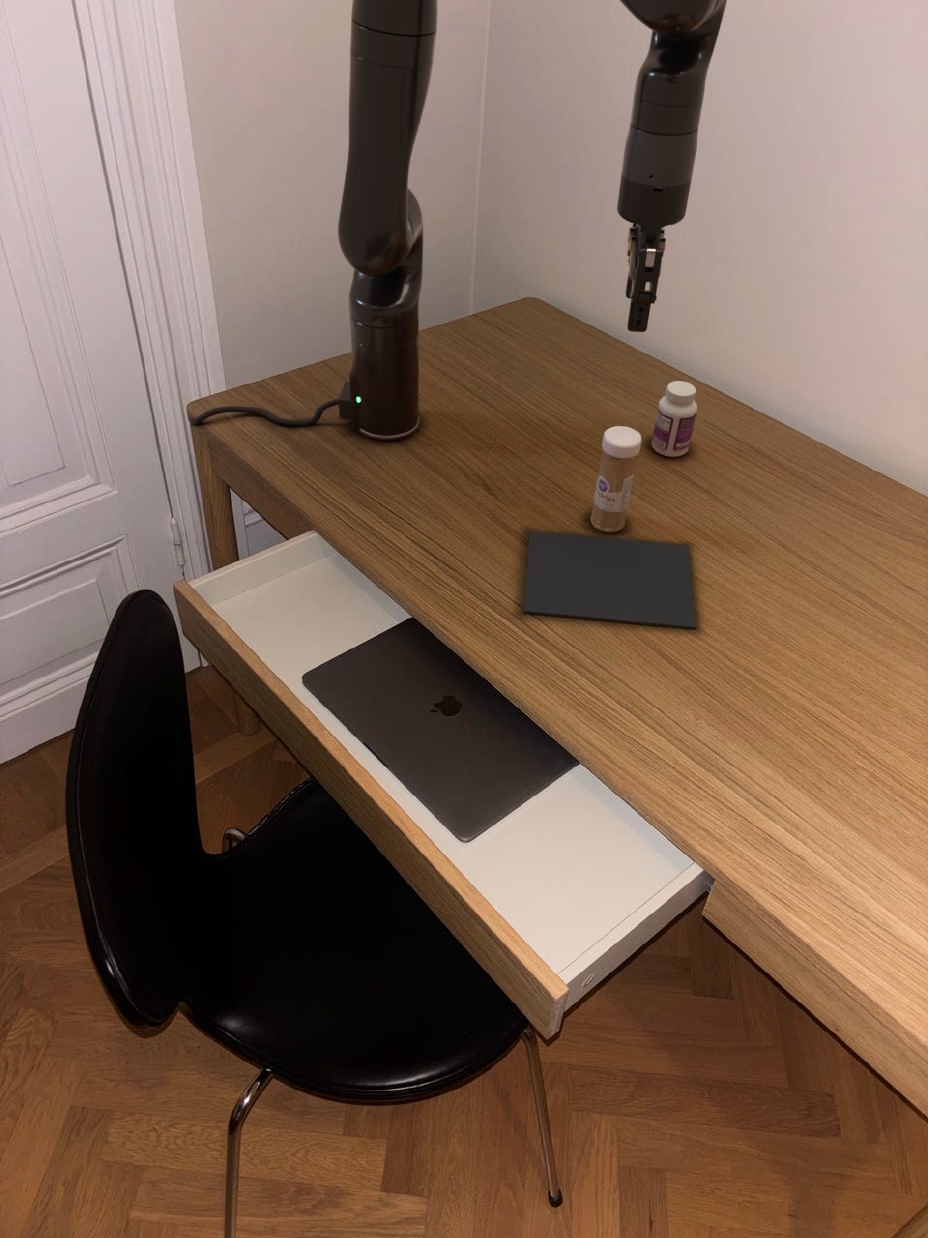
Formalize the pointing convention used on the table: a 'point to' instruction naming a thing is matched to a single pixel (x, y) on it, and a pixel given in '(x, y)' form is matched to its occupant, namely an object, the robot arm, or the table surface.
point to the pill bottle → (675, 419)
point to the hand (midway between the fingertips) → (635, 313)
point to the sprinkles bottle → (615, 478)
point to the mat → (609, 580)
